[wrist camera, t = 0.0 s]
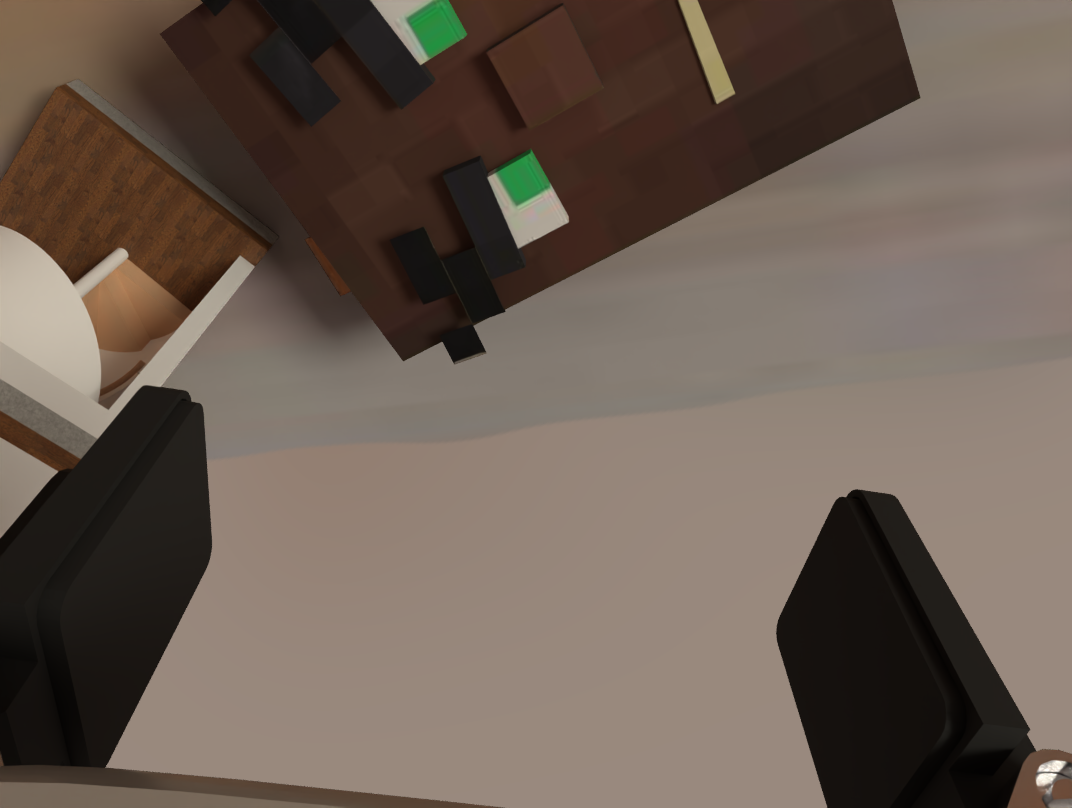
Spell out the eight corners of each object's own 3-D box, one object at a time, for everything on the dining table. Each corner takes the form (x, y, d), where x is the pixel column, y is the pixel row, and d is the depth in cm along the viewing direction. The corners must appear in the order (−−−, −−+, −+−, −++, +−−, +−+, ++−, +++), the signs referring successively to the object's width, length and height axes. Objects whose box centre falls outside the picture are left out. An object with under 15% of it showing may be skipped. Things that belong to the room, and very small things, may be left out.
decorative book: (997, 100, 31) (374, 408, 40) (921, 65, 38) (398, 337, 46) (846, -527, 23) (82, 39, 31) (780, -434, 29) (162, 14, 37)
